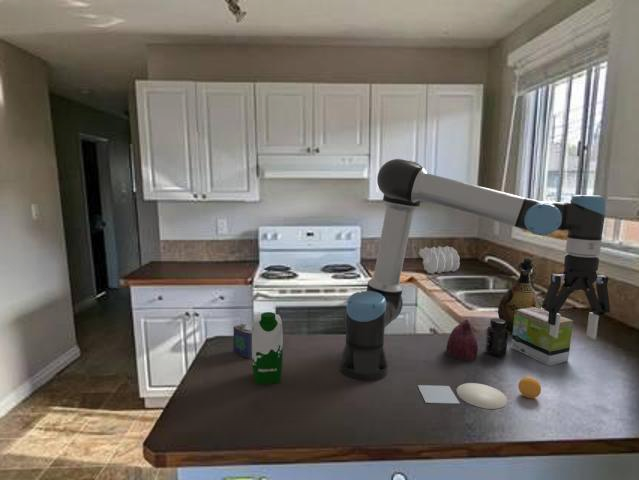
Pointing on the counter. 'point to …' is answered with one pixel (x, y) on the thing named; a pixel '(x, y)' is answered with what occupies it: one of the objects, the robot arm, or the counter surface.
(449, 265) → the white ribbed cylinder
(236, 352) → the flask
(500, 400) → the disc
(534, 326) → the tea box
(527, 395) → the ball
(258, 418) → the counter surface
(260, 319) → the milk carton
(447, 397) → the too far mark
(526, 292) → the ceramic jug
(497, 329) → the supplement bottle
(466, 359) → the vegetable
